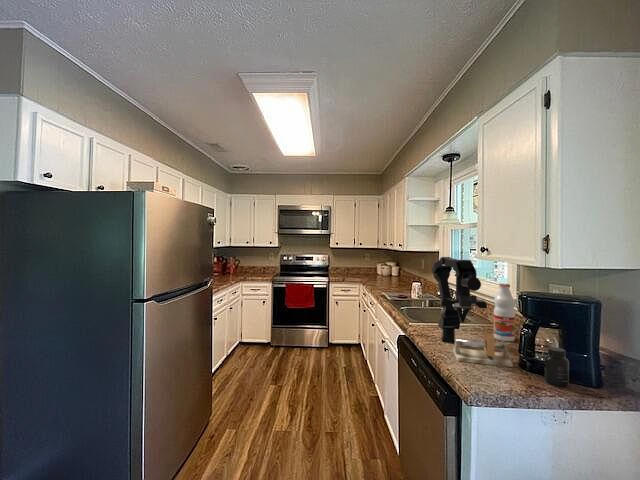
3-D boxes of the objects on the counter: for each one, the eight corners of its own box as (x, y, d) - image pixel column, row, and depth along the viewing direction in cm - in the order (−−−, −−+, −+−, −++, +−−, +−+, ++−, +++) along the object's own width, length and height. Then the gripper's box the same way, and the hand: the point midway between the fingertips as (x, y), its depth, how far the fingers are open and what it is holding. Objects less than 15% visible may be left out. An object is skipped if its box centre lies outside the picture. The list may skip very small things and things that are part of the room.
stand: (457, 361, 127) (457, 344, 127) (453, 351, 139) (453, 335, 139) (512, 366, 122) (512, 349, 122) (503, 356, 134) (503, 339, 134)
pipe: (455, 346, 132) (456, 339, 132) (454, 344, 135) (455, 337, 135) (508, 351, 127) (508, 344, 127) (506, 348, 129) (506, 342, 129)
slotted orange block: (488, 356, 127) (488, 337, 127) (484, 350, 133) (484, 332, 134) (494, 356, 126) (494, 337, 126) (490, 350, 133) (490, 333, 133)
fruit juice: (513, 337, 161) (514, 283, 161) (516, 342, 152) (516, 285, 152) (493, 335, 165) (493, 282, 165) (494, 339, 156) (494, 284, 157)
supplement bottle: (539, 379, 111) (539, 345, 111) (557, 378, 112) (557, 345, 112) (555, 388, 104) (555, 352, 104) (574, 387, 105) (574, 352, 105)
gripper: (442, 288, 135) (442, 324, 135) (490, 291, 130) (490, 328, 130) (440, 285, 145) (439, 318, 145) (484, 287, 141) (483, 322, 140)
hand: (462, 322), depth 140 cm, fingers closed
